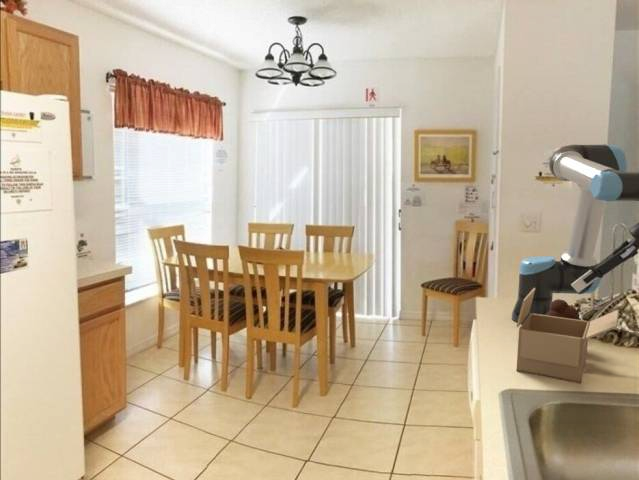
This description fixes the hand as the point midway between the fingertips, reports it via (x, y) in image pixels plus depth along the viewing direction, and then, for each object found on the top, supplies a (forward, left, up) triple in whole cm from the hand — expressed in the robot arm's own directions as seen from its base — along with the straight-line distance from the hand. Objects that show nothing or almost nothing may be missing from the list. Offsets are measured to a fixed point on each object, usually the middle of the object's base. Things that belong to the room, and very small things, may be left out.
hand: (574, 288), depth 146 cm
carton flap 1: (0, -12, -7) cm, 14 cm away
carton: (0, -4, -23) cm, 23 cm away
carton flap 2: (0, +7, -9) cm, 11 cm away
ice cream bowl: (-19, -4, -23) cm, 30 cm away
